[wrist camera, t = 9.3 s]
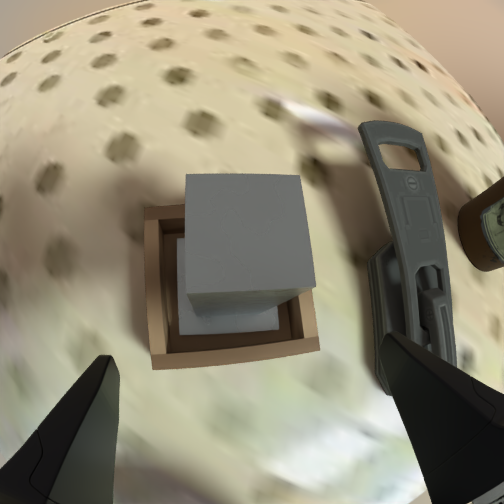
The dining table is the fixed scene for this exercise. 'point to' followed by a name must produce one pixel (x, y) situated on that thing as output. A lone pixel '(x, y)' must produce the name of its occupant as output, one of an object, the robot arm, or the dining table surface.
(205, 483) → the dining table surface
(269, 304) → the bracket post
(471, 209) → the olive oil
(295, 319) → the well
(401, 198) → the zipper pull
